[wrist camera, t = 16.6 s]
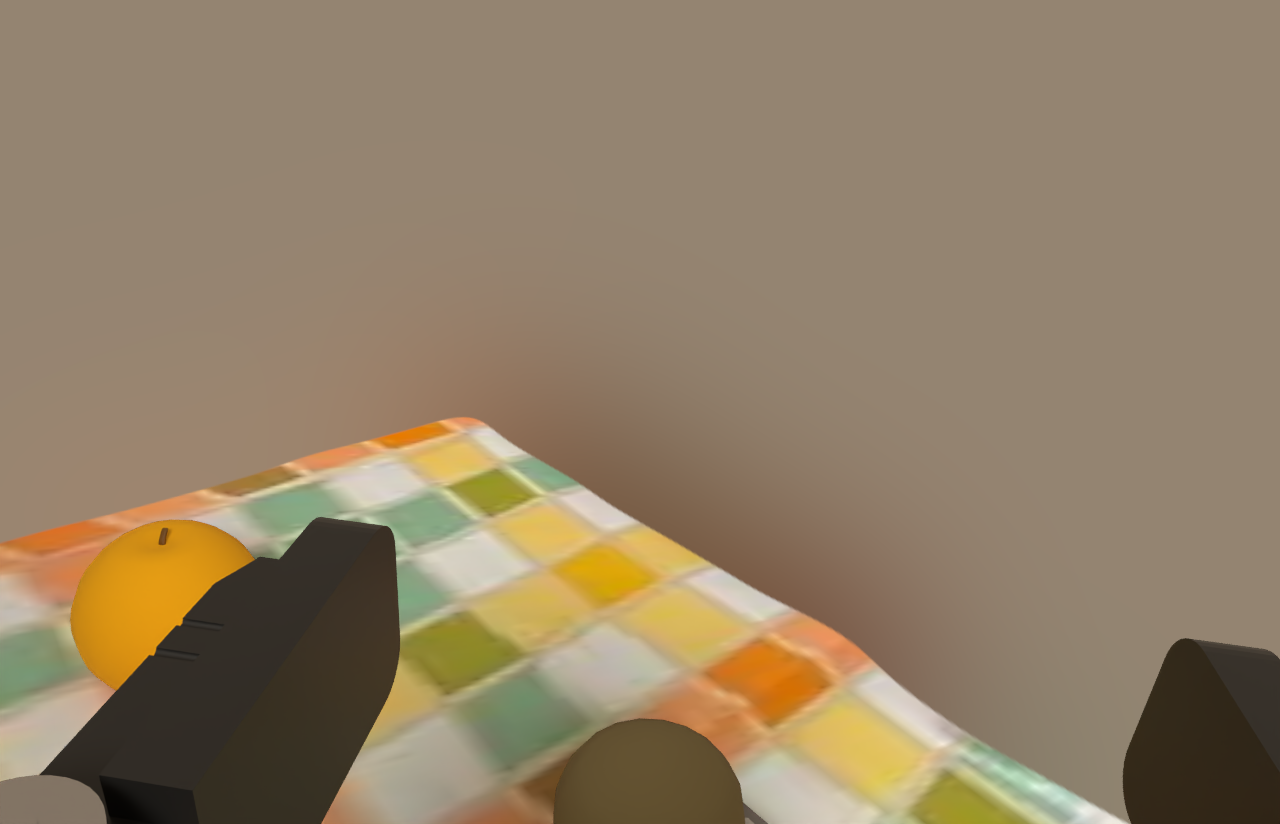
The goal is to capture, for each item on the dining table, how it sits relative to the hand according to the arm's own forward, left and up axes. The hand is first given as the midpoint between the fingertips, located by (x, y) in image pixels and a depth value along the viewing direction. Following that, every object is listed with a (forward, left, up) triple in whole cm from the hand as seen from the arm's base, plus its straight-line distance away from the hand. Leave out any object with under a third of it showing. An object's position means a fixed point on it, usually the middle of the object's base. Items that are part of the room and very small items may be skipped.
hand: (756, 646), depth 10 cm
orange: (-34, +2, -25) cm, 42 cm away
